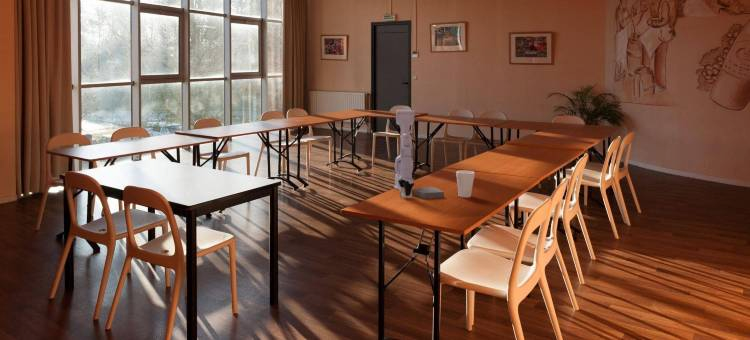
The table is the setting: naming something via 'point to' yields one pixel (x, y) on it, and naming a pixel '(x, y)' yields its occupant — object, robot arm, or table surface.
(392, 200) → the table surface
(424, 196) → the charcoal plinth
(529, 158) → the table surface
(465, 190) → the foam cup
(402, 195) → the cream cube
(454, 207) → the table surface
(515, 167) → the table surface
